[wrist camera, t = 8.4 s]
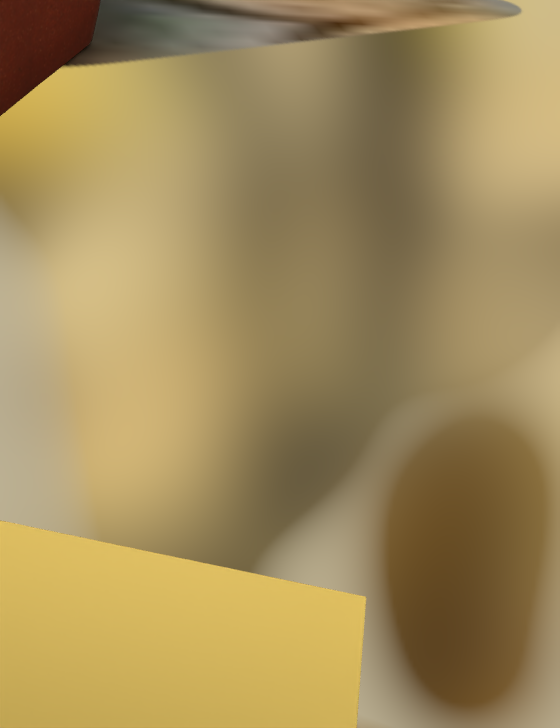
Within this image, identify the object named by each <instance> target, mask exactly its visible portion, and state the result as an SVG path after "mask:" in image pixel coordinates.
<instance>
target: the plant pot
mask: <svg viewBox="0 0 560 728" xmlns="http://www.w3.org/2000/svg"><path fill="white" fill-rule="evenodd" d="M99 6H100V0H0V116H1V115H2V114H3V113H5V112H6V111H7V110H8V109H9V108H11V107H12V106H13V105H14V104H16V103H17V102H18V101H19V100H20V99H22V98H23V97H24V96H25V95H27V94H28V93H29V92H30V91H32V90H33V89H34V88H35V87H36V86H38V85H39V84H40V83H41V82H43V81H44V80H45V79H47V78H48V77H49V76H50V75H52V74H53V73H54V72H55V71H56V70H58V69H59V68H60V67H62V66H63V65H64V64H65V63H66V62H68V61H69V60H70V59H71V58H73V57H74V56H75V55H76V54H78V53H79V52H80V51H81V50H83V49H84V48H85V47H86V46H88V45H89V43H90V42H91V41H92V38H93V34H94V29H95V25H96V20H97V15H98V11H99Z"/></svg>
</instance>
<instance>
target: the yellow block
mask: <svg viewBox="0 0 560 728" xmlns="http://www.w3.org/2000/svg"><path fill="white" fill-rule="evenodd" d="M365 603H366V597H364V596H359V595H354V594H350V593H345V592H340V591H335V590H330V589H326V588H321V587H316V586H311V585H307V584H302V583H297V582H292V581H287V580H282V579H278V578H273V577H268V576H263V575H259V574H254V573H249V572H244V571H239V570H235V569H230V568H225V567H220V566H215V565H211V564H206V563H201V562H196V561H192V560H186V559H182V558H177V557H173V556H167V555H163V554H158V553H153V552H149V551H144V550H139V549H134V548H129V547H125V546H119V545H115V544H110V543H105V542H100V541H95V540H91V539H86V538H81V537H76V536H72V535H67V534H62V533H58V532H53V531H48V530H43V529H38V528H34V527H29V526H24V525H19V524H15V523H10V522H5V521H0V728H357V714H358V700H359V687H360V686H359V685H360V673H361V660H362V646H363V632H364V619H365V606H366V604H365Z"/></svg>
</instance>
